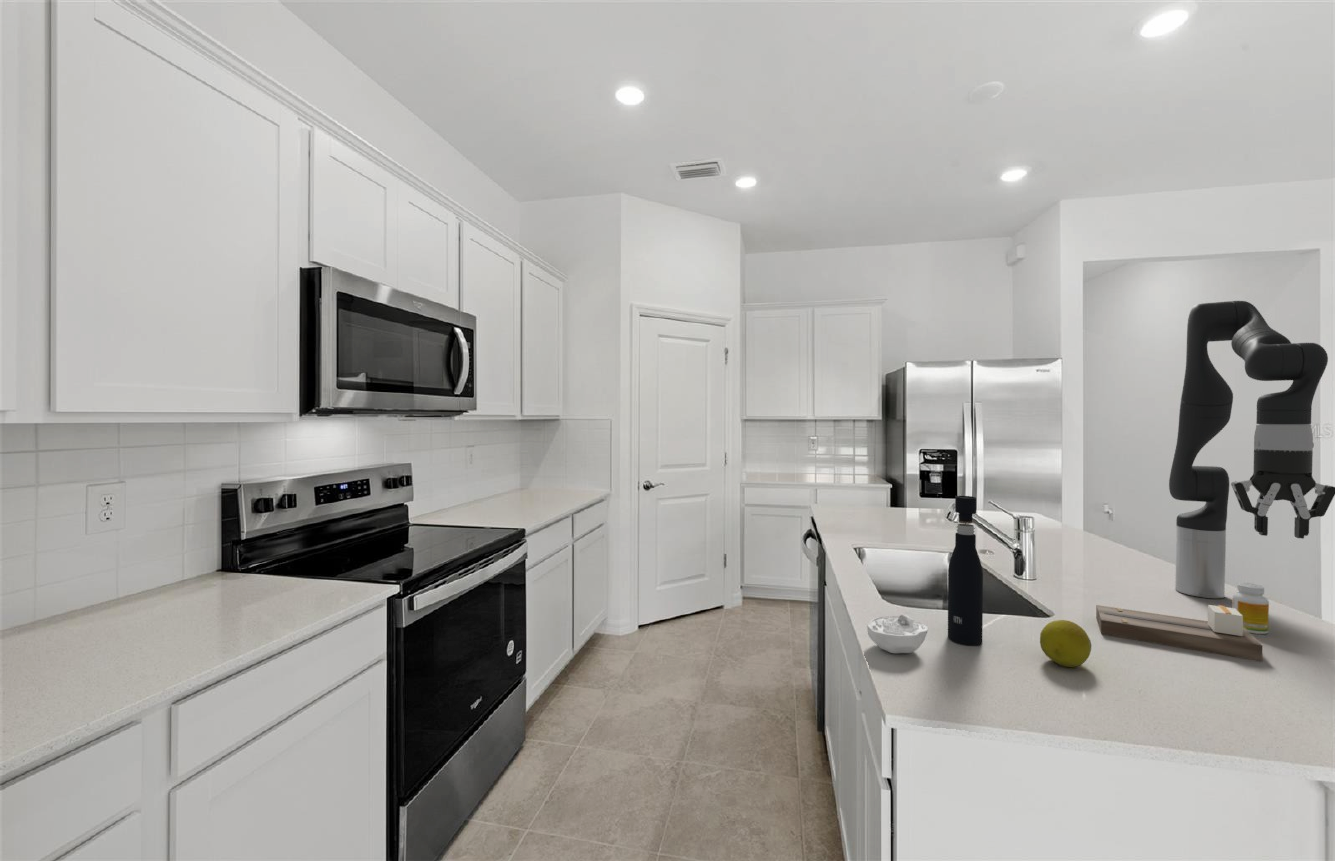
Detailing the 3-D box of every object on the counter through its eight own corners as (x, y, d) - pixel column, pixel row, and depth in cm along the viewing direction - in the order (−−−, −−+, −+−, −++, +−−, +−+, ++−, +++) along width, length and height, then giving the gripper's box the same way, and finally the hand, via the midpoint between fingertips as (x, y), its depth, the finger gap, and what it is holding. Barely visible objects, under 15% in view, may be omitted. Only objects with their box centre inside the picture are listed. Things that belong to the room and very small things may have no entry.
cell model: (855, 643, 113) (855, 610, 113) (905, 636, 116) (905, 605, 116) (886, 664, 103) (886, 629, 103) (940, 657, 106) (940, 622, 106)
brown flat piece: (1096, 617, 126) (1096, 604, 126) (1243, 641, 113) (1243, 625, 113) (1101, 633, 117) (1101, 619, 117) (1262, 661, 104) (1262, 644, 103)
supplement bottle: (1275, 635, 115) (1276, 590, 115) (1245, 633, 116) (1246, 588, 116) (1254, 626, 121) (1255, 582, 120) (1225, 624, 122) (1226, 581, 121)
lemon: (1078, 679, 97) (1079, 634, 97) (1029, 663, 103) (1030, 621, 103) (1101, 663, 103) (1101, 621, 103) (1053, 649, 110) (1054, 609, 109)
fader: (1207, 623, 113) (1207, 603, 113) (1234, 627, 111) (1235, 607, 111) (1214, 631, 109) (1214, 611, 109) (1242, 636, 107) (1242, 614, 107)
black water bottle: (978, 635, 116) (979, 495, 116) (985, 647, 110) (986, 499, 110) (945, 632, 119) (946, 494, 118) (950, 643, 112) (951, 498, 112)
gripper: (1329, 447, 104) (1327, 537, 105) (1225, 445, 112) (1223, 528, 113) (1348, 449, 98) (1346, 544, 99) (1236, 447, 106) (1234, 535, 106)
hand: (1280, 535), depth 106 cm, fingers open, 4 cm apart
